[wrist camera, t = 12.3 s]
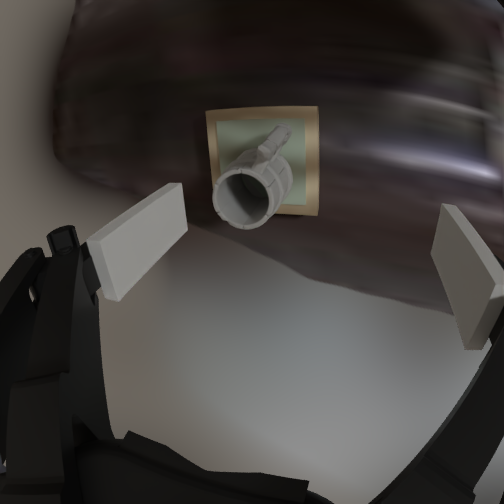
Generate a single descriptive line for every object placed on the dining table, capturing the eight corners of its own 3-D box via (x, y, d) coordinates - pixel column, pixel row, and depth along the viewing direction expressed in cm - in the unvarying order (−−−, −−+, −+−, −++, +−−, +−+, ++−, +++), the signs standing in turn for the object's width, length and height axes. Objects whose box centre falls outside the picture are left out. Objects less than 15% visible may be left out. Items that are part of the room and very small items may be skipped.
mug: (226, 186, 40) (186, 221, 30) (264, 105, 34) (232, 110, 24) (277, 213, 40) (254, 259, 30) (321, 135, 34) (315, 152, 24)
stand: (214, 109, 39) (204, 111, 36) (318, 106, 35) (316, 106, 32) (222, 204, 45) (214, 212, 42) (318, 207, 42) (317, 216, 39)
